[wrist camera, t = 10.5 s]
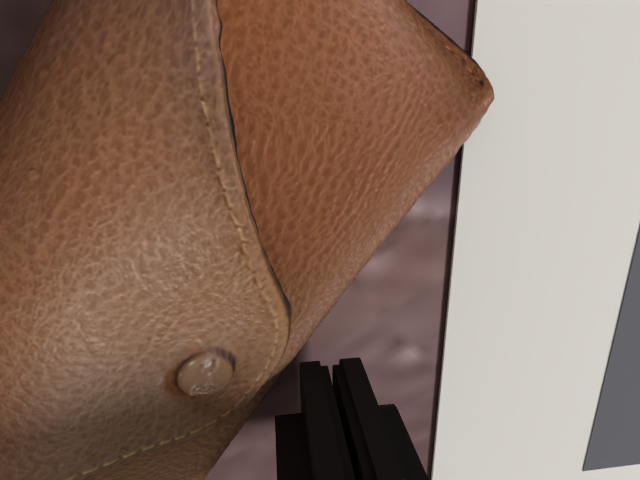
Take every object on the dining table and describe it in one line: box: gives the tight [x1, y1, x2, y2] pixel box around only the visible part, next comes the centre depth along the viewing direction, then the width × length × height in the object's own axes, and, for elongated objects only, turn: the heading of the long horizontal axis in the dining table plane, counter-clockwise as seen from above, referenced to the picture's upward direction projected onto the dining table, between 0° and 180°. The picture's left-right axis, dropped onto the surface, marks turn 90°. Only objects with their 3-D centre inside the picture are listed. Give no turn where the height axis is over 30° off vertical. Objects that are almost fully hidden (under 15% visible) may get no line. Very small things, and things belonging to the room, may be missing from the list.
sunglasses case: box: [0, 0, 494, 480], centre depth 9 cm, size 18×7×7 cm
